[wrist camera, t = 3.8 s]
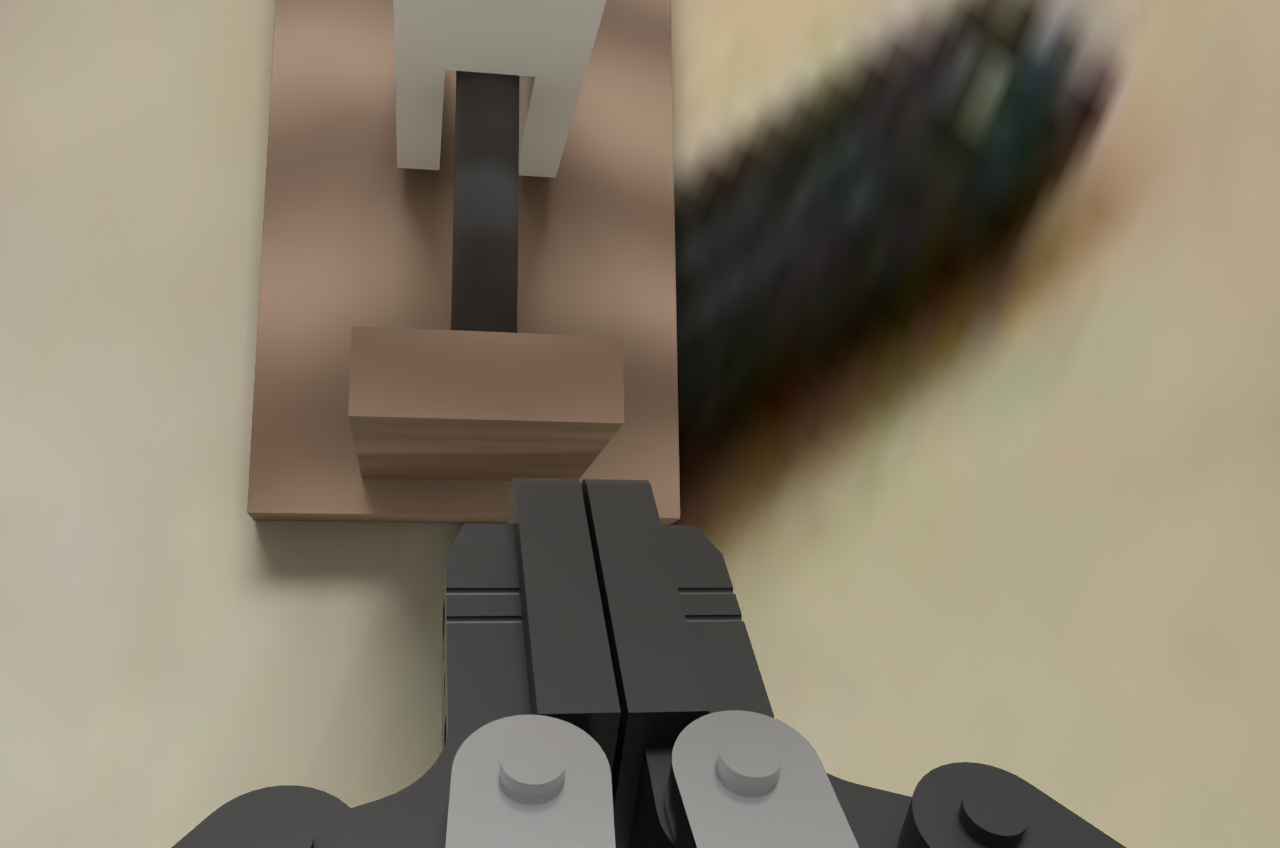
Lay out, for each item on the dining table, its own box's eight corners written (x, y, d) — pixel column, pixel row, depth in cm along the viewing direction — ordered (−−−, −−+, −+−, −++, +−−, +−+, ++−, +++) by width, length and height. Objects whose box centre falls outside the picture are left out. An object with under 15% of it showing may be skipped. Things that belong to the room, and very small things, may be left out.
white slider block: (555, 177, 36) (616, -34, 26) (397, 167, 35) (392, -56, 25) (556, 54, 37) (614, -201, 26) (401, 41, 36) (397, -227, 26)
